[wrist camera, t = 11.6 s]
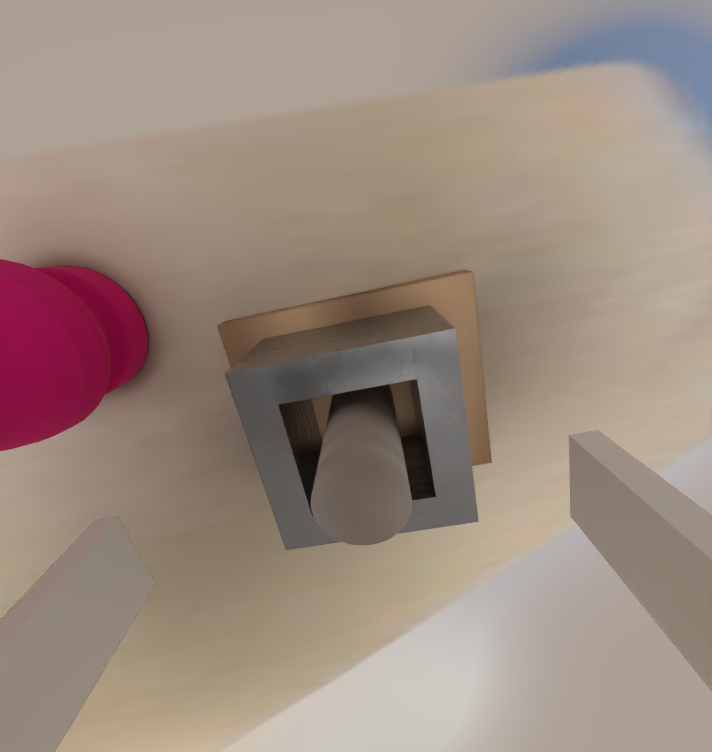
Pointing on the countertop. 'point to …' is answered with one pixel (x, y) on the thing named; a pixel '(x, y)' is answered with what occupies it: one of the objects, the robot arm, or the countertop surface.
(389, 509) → the peg on square base
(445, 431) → the grey square ring block
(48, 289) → the pepper mill
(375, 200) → the countertop surface
